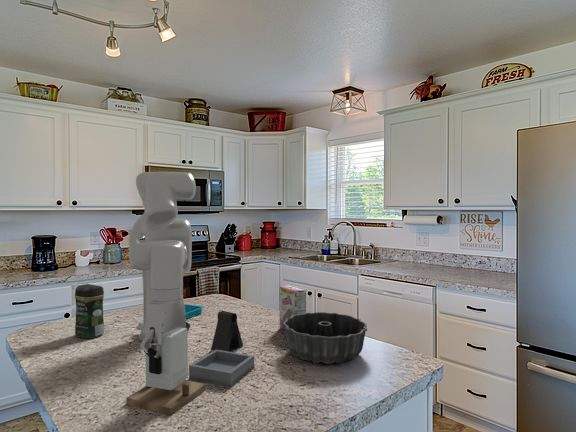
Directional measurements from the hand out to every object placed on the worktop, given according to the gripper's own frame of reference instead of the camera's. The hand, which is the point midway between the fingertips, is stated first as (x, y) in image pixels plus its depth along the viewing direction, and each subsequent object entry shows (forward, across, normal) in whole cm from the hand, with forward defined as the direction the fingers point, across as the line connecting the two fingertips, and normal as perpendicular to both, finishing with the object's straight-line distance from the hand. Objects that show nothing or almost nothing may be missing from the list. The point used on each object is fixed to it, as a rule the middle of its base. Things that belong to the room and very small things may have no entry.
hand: (167, 366), depth 94 cm
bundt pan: (+8, -42, +27) cm, 51 cm away
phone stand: (+8, -34, -4) cm, 35 cm away
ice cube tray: (+8, -59, -43) cm, 73 cm away
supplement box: (+4, 0, 0) cm, 4 cm away
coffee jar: (+8, -26, -57) cm, 63 cm away
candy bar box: (+8, -59, +9) cm, 60 cm away
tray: (+7, -17, +5) cm, 19 cm away
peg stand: (+7, 0, 0) cm, 7 cm away
